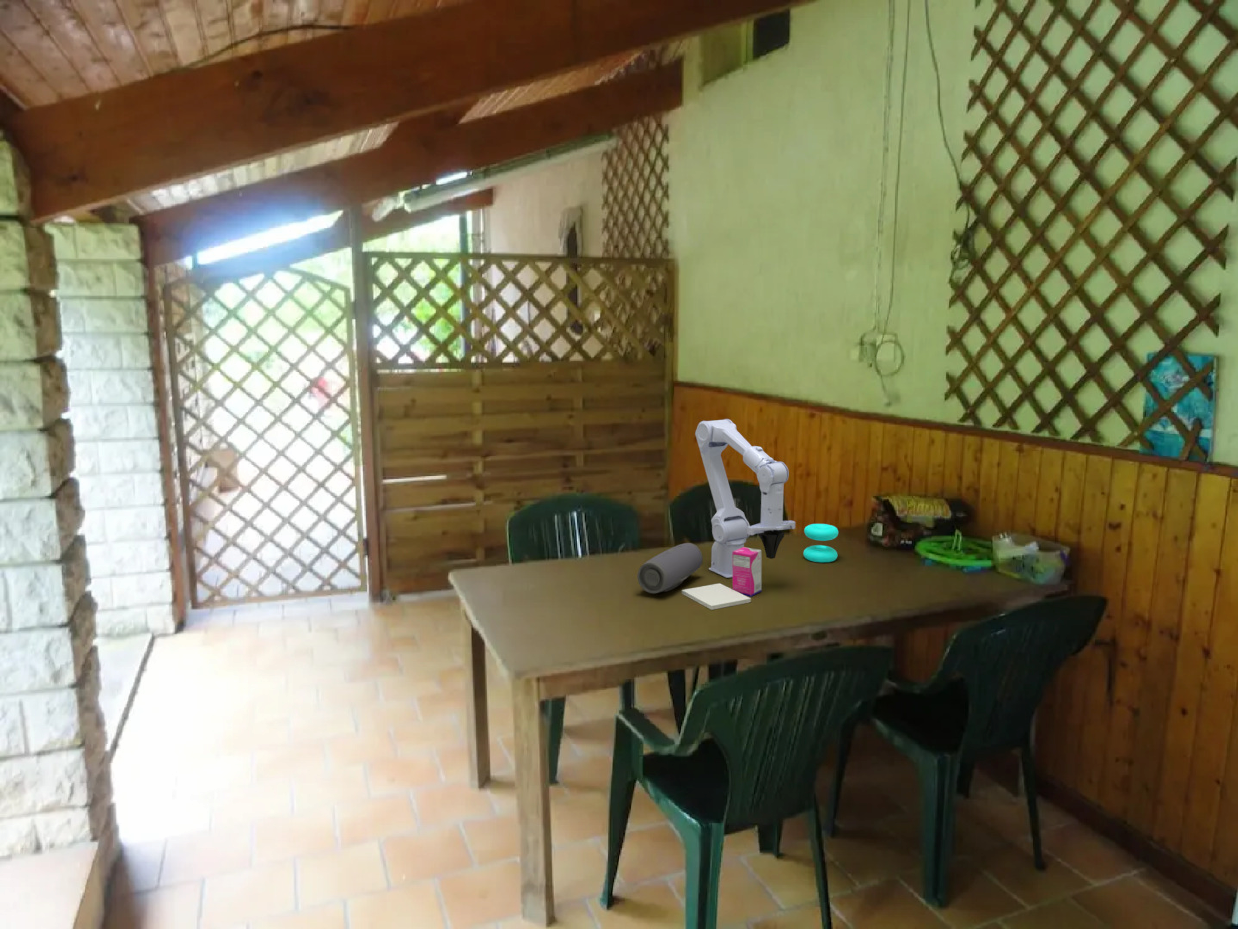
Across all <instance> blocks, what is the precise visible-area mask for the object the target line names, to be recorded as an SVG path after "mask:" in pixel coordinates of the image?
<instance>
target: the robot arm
mask: <svg viewBox="0 0 1238 929" xmlns="http://www.w3.org/2000/svg"><path fill="white" fill-rule="evenodd" d="M737 428H738V427H737V425H736V424H735V423H734V422H733V421H732V420H731V419H729V418H724V419H718V420H702V421H700V422H699V423H698V424H697V427H696V430H695V433H694V435H695V438H696V442H697V445H698V448H699V452H700V456H701V459H702V463H703V467H704V471H705V474H706V478H707V481H708V485H709V488H710V492H711V496H712V499H713V503H714V507H715V510H716V513H715V514H714V515H713V516H712V518H711V520H710V522H711V525H712V527H711V528H712V530H711V532H712V537H713V539H714V540H715V541H714V542H713V544H712V546H711V567H709V568H708V570H709V571H711V572H713V573H714V574H715V573H716V574H717V575H719V576H722V577H724V578H728V579H731V578H733V556H732V552H733V551H735V550H738V549H740V548H742V547H745V543H747V539H748V538H749V537H750V536H755V535H756V534H758V537H759V538H760V540H761V542H762V545H763V548H764V552H765V556H766V558H768V559H771V560H773V559H776V555H777V552H778V549H779V546H780V545H781V544H780V543H781V542H782V540H783V539H784V537H785V532H784V531H782V530H790V529H791V530H795V529H796V521H794V520H783V518H784V517H783V515H784V490H785V489H784V485H785V483H787V481H788V480H789V476H790V475H789V474H790V473H789V472H790V471H789V468H788V466H787V465H786V464H785V462H783V461H777V460H774V458H773V457H770V456H769V455H768V453H766V452H765V451H764V449H763V448H762V447H761V446H757V445H753V446H752V445H751V444H750V442H749V441H748V440H747V439H746V438H745V437H744V436H743V435H742V434H741V433H740V432H739V431H738V430H737ZM728 446H730V447H731V448H732V449H734V450H735V451H736V452H738V453H739V454H740V455H741V456H742V461H743V464H745V465H746V466H747V467H749V468H750V469H751V470H752V471H753V472H754V473H755V474H756V478H757V481H758V483H759V490H760V492H761V493H760V494H761V495H760V501H761V502H760V503H761V504H760V522H759V523H756V524H753V525H750V523H749V520H748V519H747V518H746V516H745V512H743V511H742V510H741V509H740V508H737V507H736V505H735V501H734V496H733V493H732V490H731V487H730V484H729V479H728V476H727V472H726V469H725V466H724V462H723V459H722V456H721V455H722V452H723V451H724V450H725V449H726V448H727V447H728Z"/></svg>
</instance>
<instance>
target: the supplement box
mask: <svg viewBox="0 0 1238 929" xmlns="http://www.w3.org/2000/svg"><path fill="white" fill-rule="evenodd" d="M732 556H733V577H732V590H735V591H737V592H739V593H741V594H743V595H745V596H747V597H749V598H751V597H753V596H755V595H757V594H759V593H762V550H761V549H759V548H758V549H757V548H753V547H752V548H750V547H745V546H744V547H742V548H740V549H738V550H735V551H733V552H732Z"/></svg>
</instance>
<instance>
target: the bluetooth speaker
mask: <svg viewBox="0 0 1238 929" xmlns="http://www.w3.org/2000/svg"><path fill="white" fill-rule="evenodd" d="M703 562H704V559H703V555H702V551H701V550H700V548H699V547H698V546H697V545H696V544H694V543H691V542H685V543H681V544H678V545H676V546H673V547H671V548H668V549H666V550H664V551H662V552H661V553H659V554H657V555H655V556H653V557H652V558H650V559H648V560H647V561H646V562H644V563H643V564H642V565H641V566H640V567H639V569H638V571H637V582H638V584H639V586H640V588H641V589H642V590H643V591H645V592H647V593H649V594H659V593H662V592H670V591H671V590H674V589H676V588H677V587H679V586H680V585H681V584H683V582H684V580H686V579H687V578H689V577H690V576H691V575H693V574H694V573H696V572H697V571H698V570H699V569H700V568H701V567H702V564H703Z"/></svg>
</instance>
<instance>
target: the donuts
mask: <svg viewBox="0 0 1238 929" xmlns="http://www.w3.org/2000/svg"><path fill="white" fill-rule="evenodd" d="M803 532H804V534H805V536H806V537H807V538H809V539H810V540H815V541H820V542H821V541H822V542H825V541H832V540H834V539H836V538H837V537H838V535H839V530H838V527H836V526H835V525H832V524H831V525H830V524H827V523H811V524H808V525H807V526H805V528H804V530H803ZM803 557H804V558H805V559H806V560H808V561H810V562H814V563H821V564H822V563H824V564H826V563H831V562H834V561H836V560H837V558H838V552H837V550H836V549H834V548H833V547H831V546H828V545H822V544H816V545H815V544H814V545H810V546H807V547H806V548H805V549H804V550H803Z"/></svg>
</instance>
